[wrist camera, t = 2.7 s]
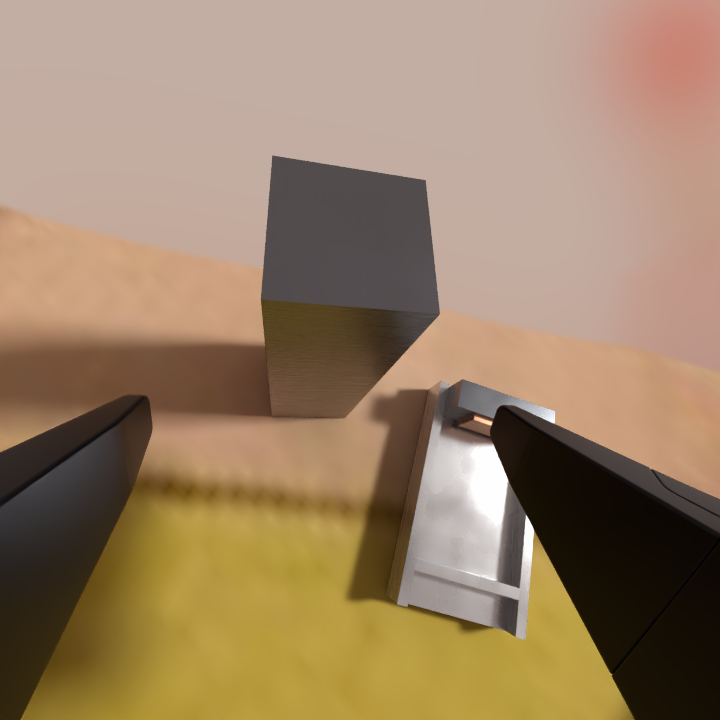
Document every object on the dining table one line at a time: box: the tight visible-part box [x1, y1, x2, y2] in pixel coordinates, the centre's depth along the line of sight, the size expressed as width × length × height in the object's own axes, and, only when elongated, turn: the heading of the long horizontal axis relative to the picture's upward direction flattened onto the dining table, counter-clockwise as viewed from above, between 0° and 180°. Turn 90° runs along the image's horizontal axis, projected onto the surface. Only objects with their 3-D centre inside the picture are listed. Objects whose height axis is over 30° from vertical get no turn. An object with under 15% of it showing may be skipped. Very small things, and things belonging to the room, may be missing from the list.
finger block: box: [261, 156, 440, 418], centre depth 15 cm, size 4×4×13 cm
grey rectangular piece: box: [386, 379, 555, 640], centre depth 19 cm, size 11×6×4 cm, turn 164°
